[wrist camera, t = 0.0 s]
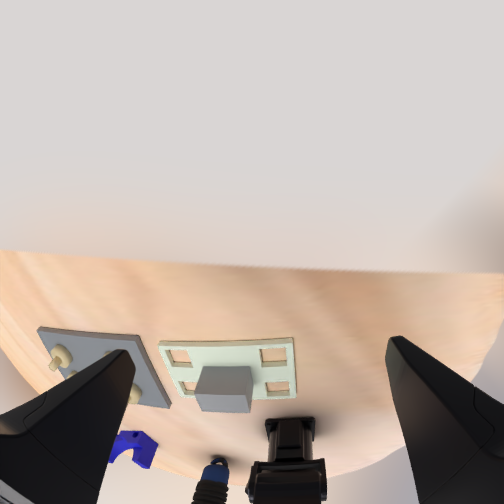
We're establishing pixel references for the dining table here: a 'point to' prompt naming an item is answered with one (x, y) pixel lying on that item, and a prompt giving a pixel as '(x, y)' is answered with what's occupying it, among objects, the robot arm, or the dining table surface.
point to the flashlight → (213, 484)
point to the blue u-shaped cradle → (135, 447)
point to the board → (232, 359)
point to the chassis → (97, 346)
